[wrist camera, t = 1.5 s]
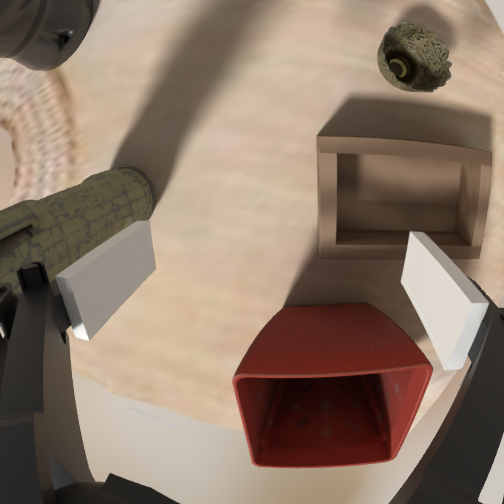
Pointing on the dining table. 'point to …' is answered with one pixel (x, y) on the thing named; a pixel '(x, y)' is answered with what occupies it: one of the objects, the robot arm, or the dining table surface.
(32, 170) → the dining table surface
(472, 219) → the walnut box
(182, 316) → the dining table surface
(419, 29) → the olive textured bell shape
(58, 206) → the thermos
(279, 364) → the plant pot
